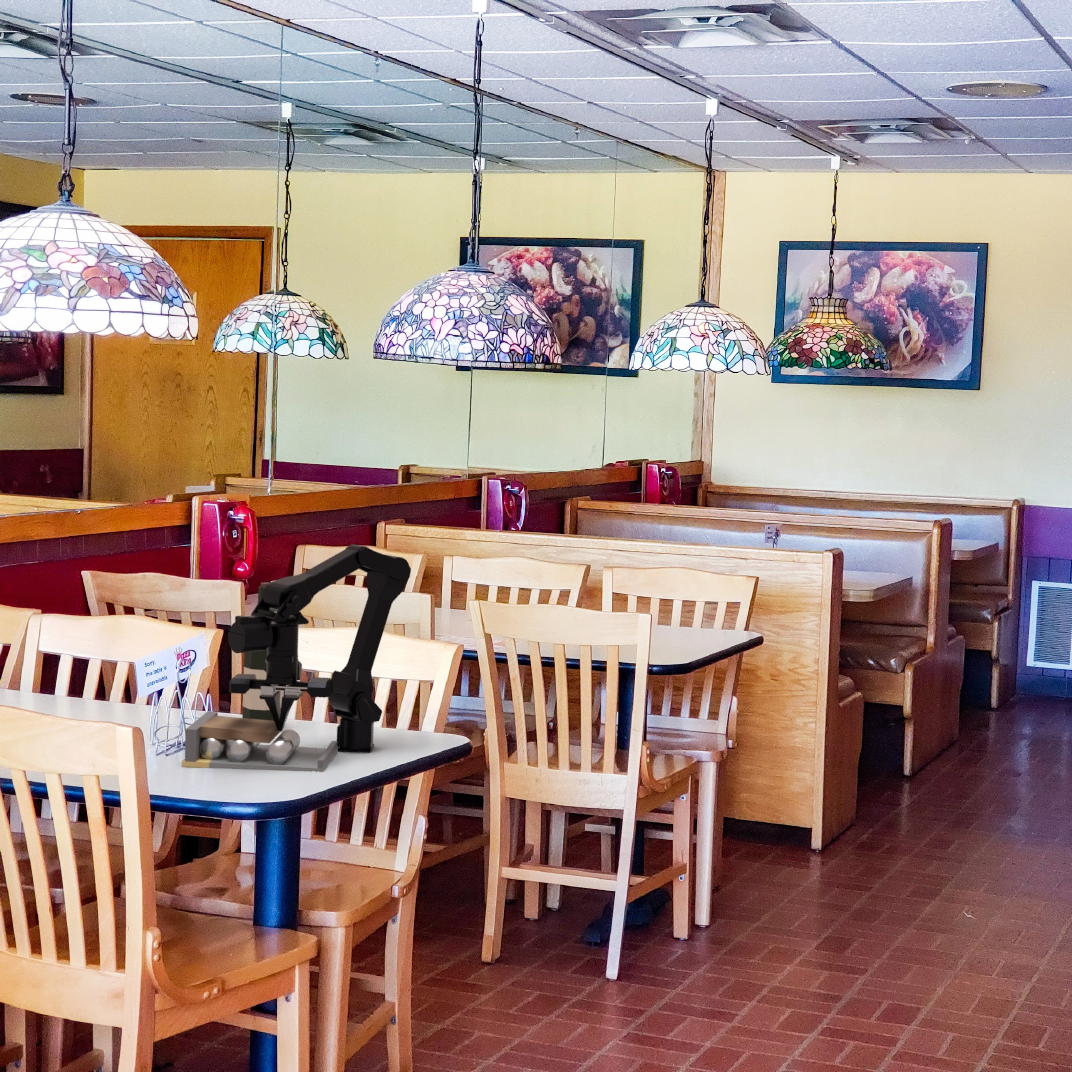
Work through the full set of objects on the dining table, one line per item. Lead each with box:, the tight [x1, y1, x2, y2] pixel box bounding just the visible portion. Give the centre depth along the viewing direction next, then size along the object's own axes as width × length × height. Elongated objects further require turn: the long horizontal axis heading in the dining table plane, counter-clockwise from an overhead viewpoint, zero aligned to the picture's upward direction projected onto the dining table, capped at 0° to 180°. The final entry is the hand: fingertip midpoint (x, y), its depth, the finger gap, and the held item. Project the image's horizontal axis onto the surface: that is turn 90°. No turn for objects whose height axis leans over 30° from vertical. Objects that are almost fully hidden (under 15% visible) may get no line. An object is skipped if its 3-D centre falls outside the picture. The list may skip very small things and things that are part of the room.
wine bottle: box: [241, 581, 285, 721], centre depth 306 cm, size 8×8×30 cm
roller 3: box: [266, 729, 301, 765], centre depth 277 cm, size 12×4×4 cm
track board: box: [181, 711, 338, 773], centre depth 278 cm, size 26×16×7 cm, turn 88°
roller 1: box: [199, 738, 234, 760], centre depth 278 cm, size 12×4×4 cm
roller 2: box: [227, 740, 261, 762], centre depth 277 cm, size 12×4×4 cm, turn 179°
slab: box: [200, 715, 281, 744], centre depth 277 cm, size 13×10×2 cm
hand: (280, 730), depth 278 cm, fingers closed
